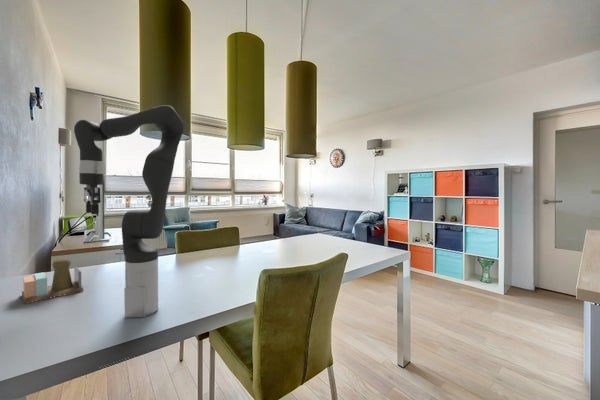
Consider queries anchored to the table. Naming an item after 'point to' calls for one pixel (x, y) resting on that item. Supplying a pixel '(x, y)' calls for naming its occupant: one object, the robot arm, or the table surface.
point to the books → (35, 285)
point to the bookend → (77, 276)
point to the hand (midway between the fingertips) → (92, 213)
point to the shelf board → (53, 293)
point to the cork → (61, 275)
